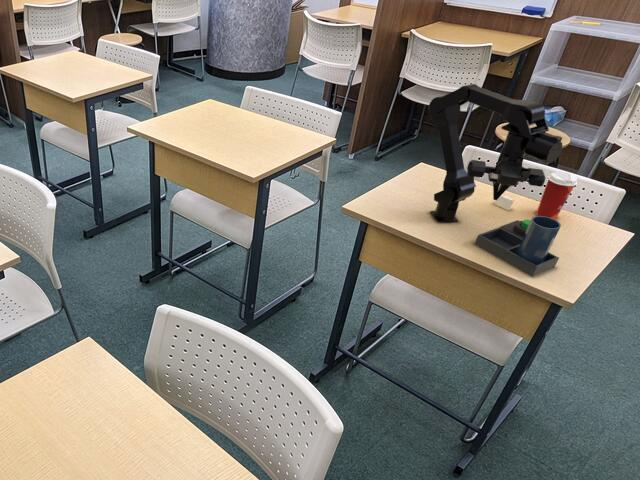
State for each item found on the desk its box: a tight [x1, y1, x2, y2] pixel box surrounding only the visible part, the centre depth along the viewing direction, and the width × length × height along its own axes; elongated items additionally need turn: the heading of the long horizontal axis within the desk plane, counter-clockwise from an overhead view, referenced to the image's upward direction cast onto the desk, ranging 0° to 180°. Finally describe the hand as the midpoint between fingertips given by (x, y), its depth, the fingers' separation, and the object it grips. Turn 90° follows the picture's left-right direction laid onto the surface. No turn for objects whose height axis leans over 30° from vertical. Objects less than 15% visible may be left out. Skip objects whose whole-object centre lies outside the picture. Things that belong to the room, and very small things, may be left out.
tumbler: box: [516, 215, 562, 265], centre depth 151 cm, size 7×7×13 cm
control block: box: [499, 220, 527, 239], centre depth 165 cm, size 11×8×4 cm
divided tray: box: [474, 226, 560, 278], centre depth 157 cm, size 18×10×3 cm, turn 26°
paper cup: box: [536, 171, 578, 220], centre depth 172 cm, size 8×8×14 cm
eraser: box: [494, 194, 515, 211], centre depth 180 cm, size 1×5×4 cm, turn 32°
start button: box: [521, 218, 531, 229], centre depth 163 cm, size 4×4×2 cm
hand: (494, 199), depth 159 cm, fingers closed
